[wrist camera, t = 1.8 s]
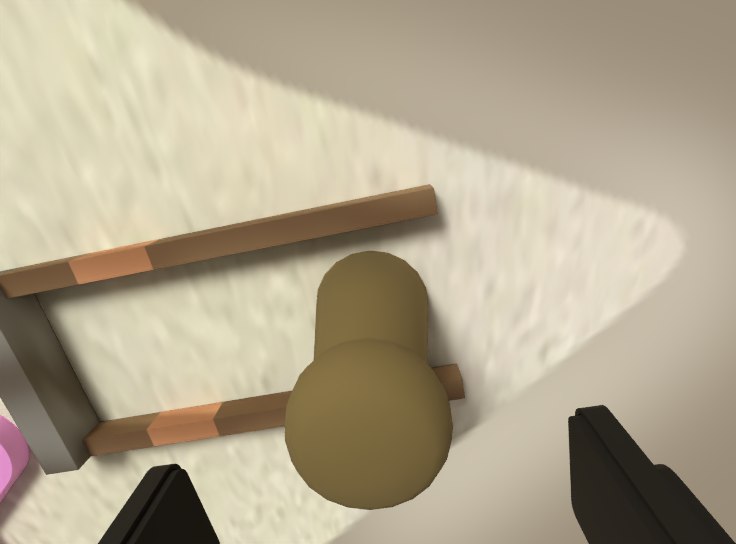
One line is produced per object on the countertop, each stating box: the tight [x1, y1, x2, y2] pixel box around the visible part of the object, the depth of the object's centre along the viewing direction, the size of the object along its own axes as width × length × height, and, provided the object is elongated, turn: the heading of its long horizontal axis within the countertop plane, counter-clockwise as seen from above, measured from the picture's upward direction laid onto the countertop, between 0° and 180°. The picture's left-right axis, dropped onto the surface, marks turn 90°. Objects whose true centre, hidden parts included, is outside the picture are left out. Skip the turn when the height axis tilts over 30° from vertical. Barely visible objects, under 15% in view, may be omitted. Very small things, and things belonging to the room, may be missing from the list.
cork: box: [285, 251, 453, 510], centre depth 16 cm, size 6×6×11 cm
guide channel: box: [0, 184, 465, 475], centre depth 21 cm, size 11×24×2 cm, turn 101°
